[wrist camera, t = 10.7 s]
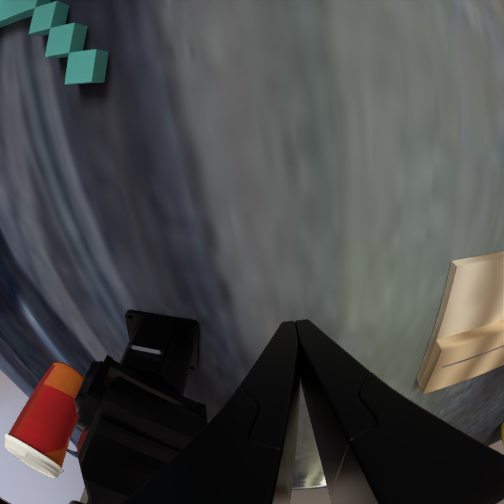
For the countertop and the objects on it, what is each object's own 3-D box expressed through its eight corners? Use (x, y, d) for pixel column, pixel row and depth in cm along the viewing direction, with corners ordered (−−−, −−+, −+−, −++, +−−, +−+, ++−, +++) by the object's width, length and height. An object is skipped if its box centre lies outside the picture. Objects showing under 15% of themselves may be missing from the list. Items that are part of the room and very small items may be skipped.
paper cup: (66, 392, 33) (32, 470, 21) (35, 354, 29) (-10, 436, 17) (106, 396, 32) (74, 487, 20) (74, 356, 28) (27, 454, 16)
